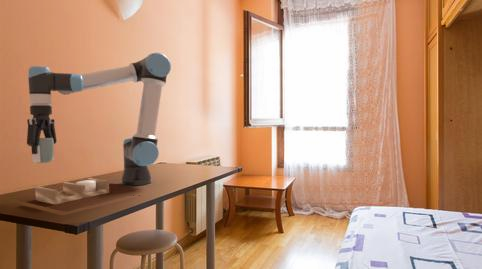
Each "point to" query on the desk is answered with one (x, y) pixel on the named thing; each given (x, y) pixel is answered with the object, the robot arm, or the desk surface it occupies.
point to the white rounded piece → (88, 185)
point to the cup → (46, 149)
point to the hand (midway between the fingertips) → (43, 160)
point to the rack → (70, 192)
